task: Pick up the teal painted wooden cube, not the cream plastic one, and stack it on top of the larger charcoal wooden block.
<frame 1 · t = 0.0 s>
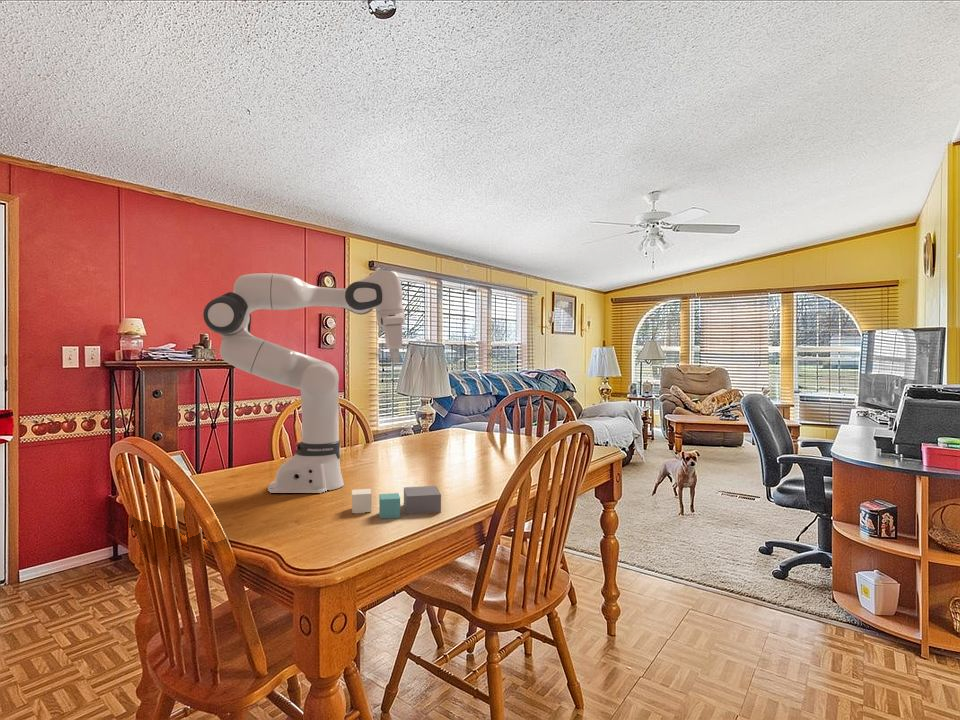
hand: (395, 362, 172), 39 cm above the table, tool pointing down, fingers open, 8 cm apart
teal cube: (389, 515, 139), on the table
charcoal base block: (421, 509, 145), on the table
cream cube: (361, 510, 143), on the table
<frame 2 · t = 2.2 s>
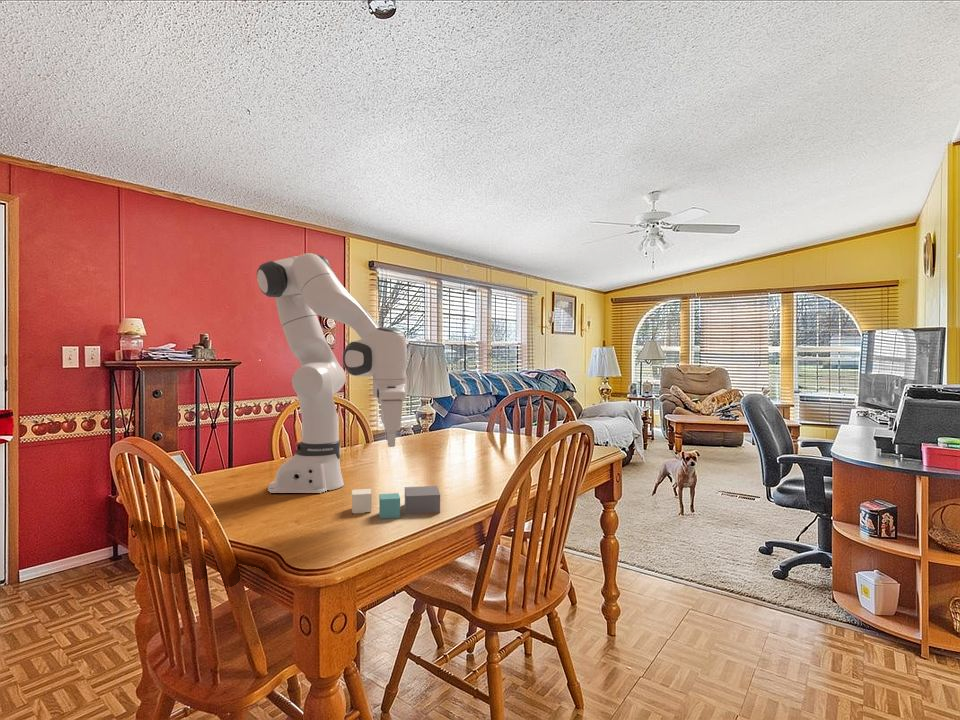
hand: (389, 443, 138), 19 cm above the table, tool pointing down, fingers open, 8 cm apart
nothing on the table moved.
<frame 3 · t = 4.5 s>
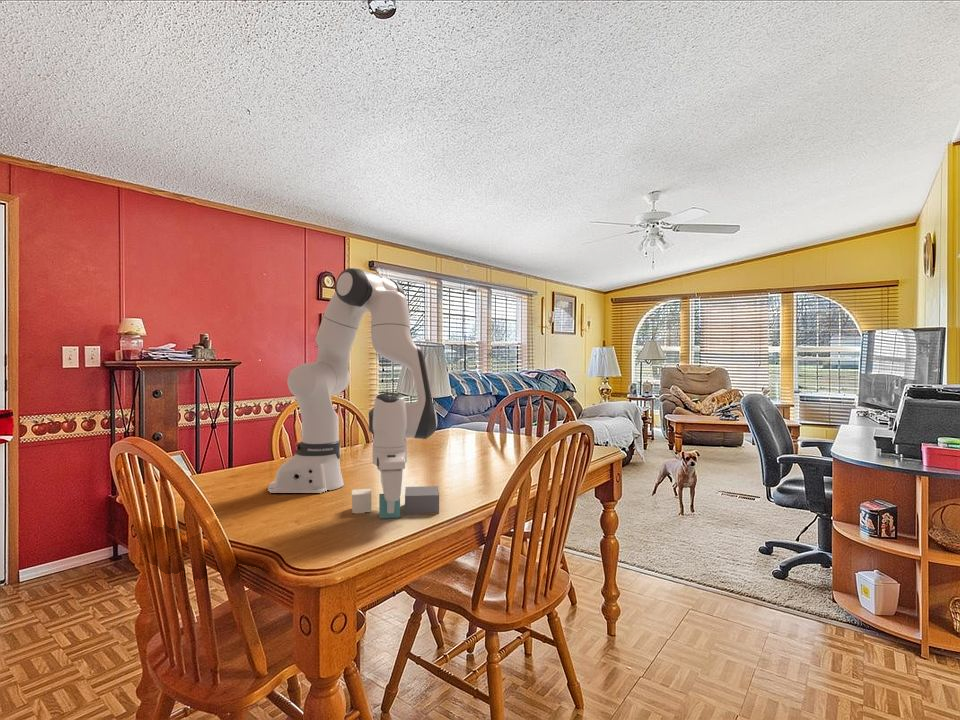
hand: (389, 508, 139), 2 cm above the table, tool pointing down, fingers closed on teal cube, 5 cm apart
teal cube: (389, 514, 139), on the table, touching gripper
everything else where it was.
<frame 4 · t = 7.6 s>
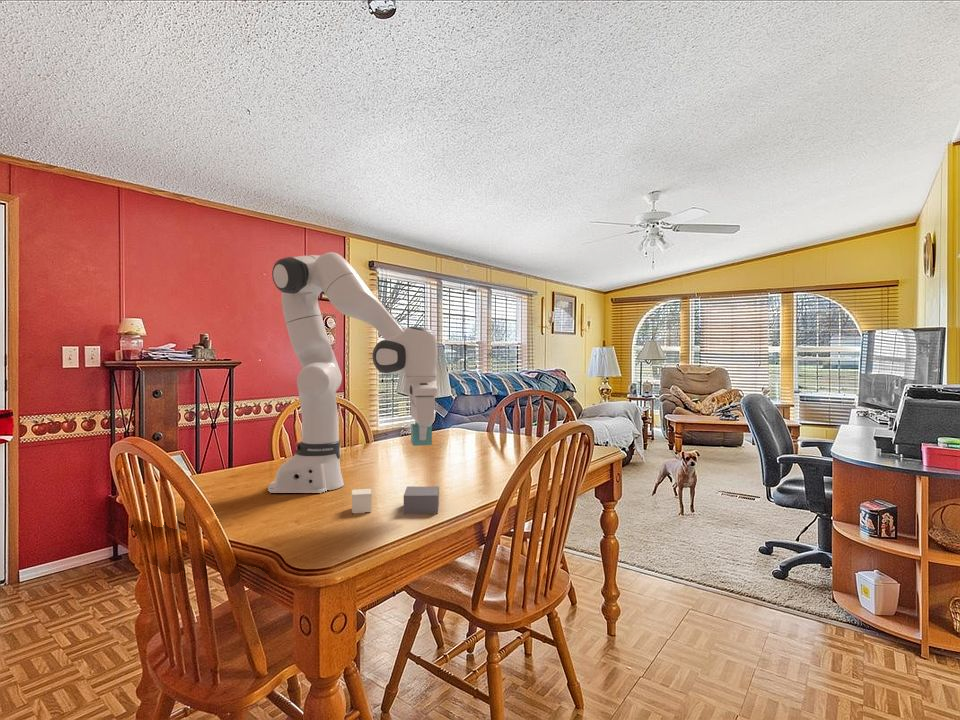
hand: (421, 437, 144), 19 cm above the table, tool pointing down, fingers closed on teal cube, 5 cm apart
teal cube: (421, 443, 144), point 18 cm above the table, touching gripper
everything else where it was.
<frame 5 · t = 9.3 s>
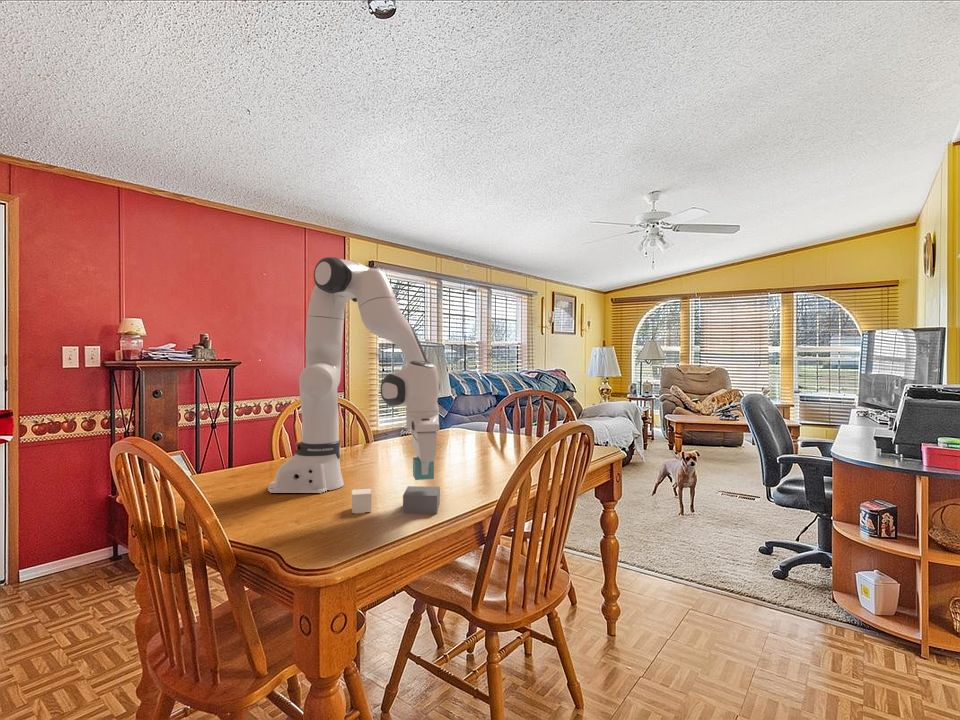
hand: (422, 471, 145), 10 cm above the table, tool pointing down, fingers closed on teal cube, 5 cm apart
teal cube: (423, 477, 145), point 8 cm above the table, touching gripper
everything else where it was.
when the fingers open (9 cm above the table, at t = 10.4 s): teal cube drops 2 cm, resting on charcoal base block.
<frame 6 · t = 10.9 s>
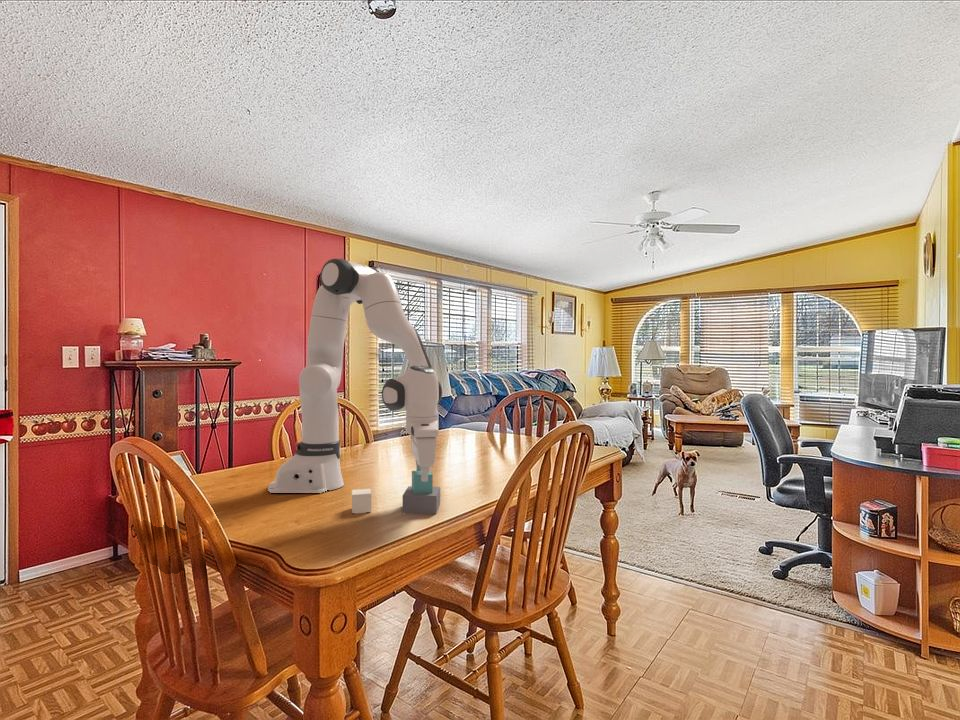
hand: (421, 476, 145), 9 cm above the table, tool pointing down, fingers open, 8 cm apart
teal cube: (421, 490, 145), point 5 cm above the table, touching charcoal base block
charcoal base block: (421, 509, 145), on the table, touching teal cube
everything else where it was.
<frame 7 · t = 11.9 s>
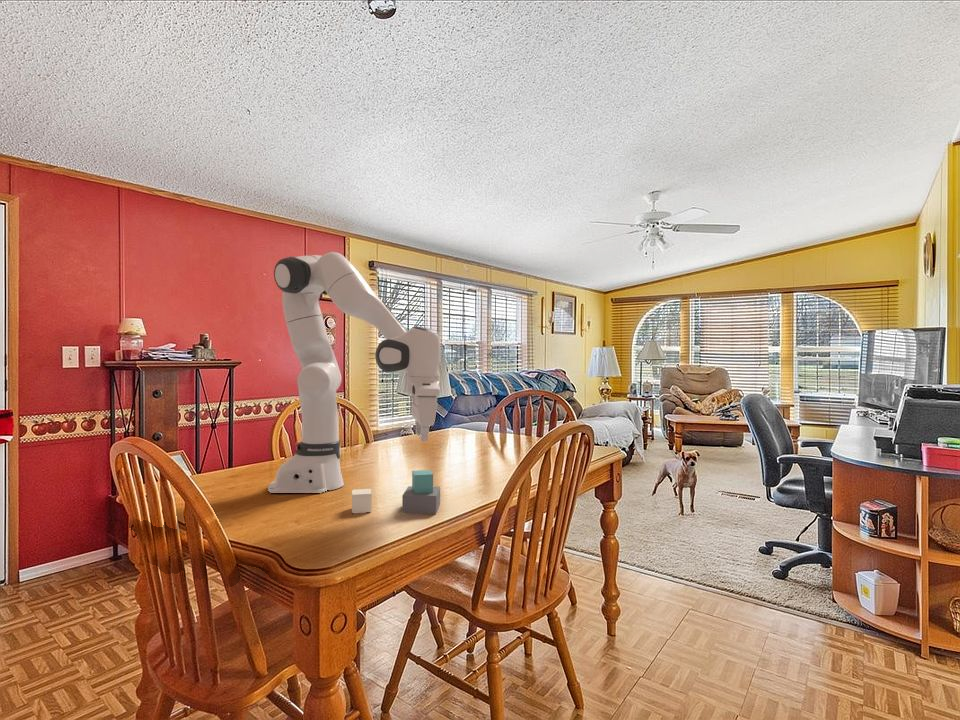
hand: (421, 437, 145), 19 cm above the table, tool pointing down, fingers open, 8 cm apart
teal cube: (422, 490, 145), point 5 cm above the table
charcoal base block: (421, 509, 145), on the table
everything else where it was.
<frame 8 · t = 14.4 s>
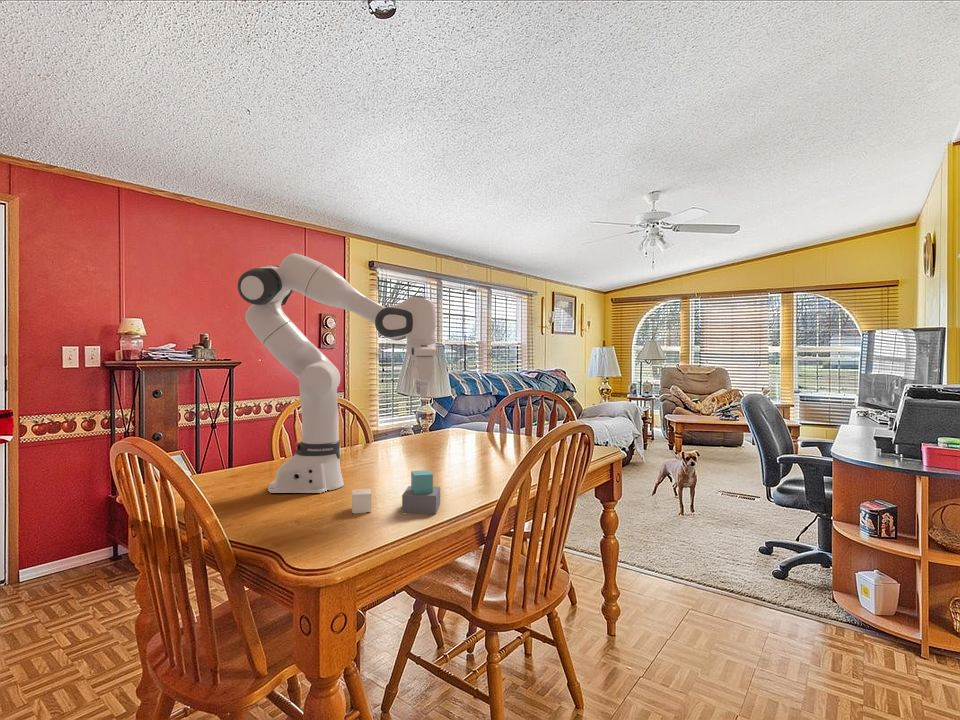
hand: (421, 395, 162), 29 cm above the table, tool pointing down, fingers open, 8 cm apart
nothing on the table moved.
at the end: teal cube 0.1 cm off-centre on the charcoal base block, point 5.0 cm above the charcoal base block's base; teal cube tilted 0°; the gripper is holding nothing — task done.
